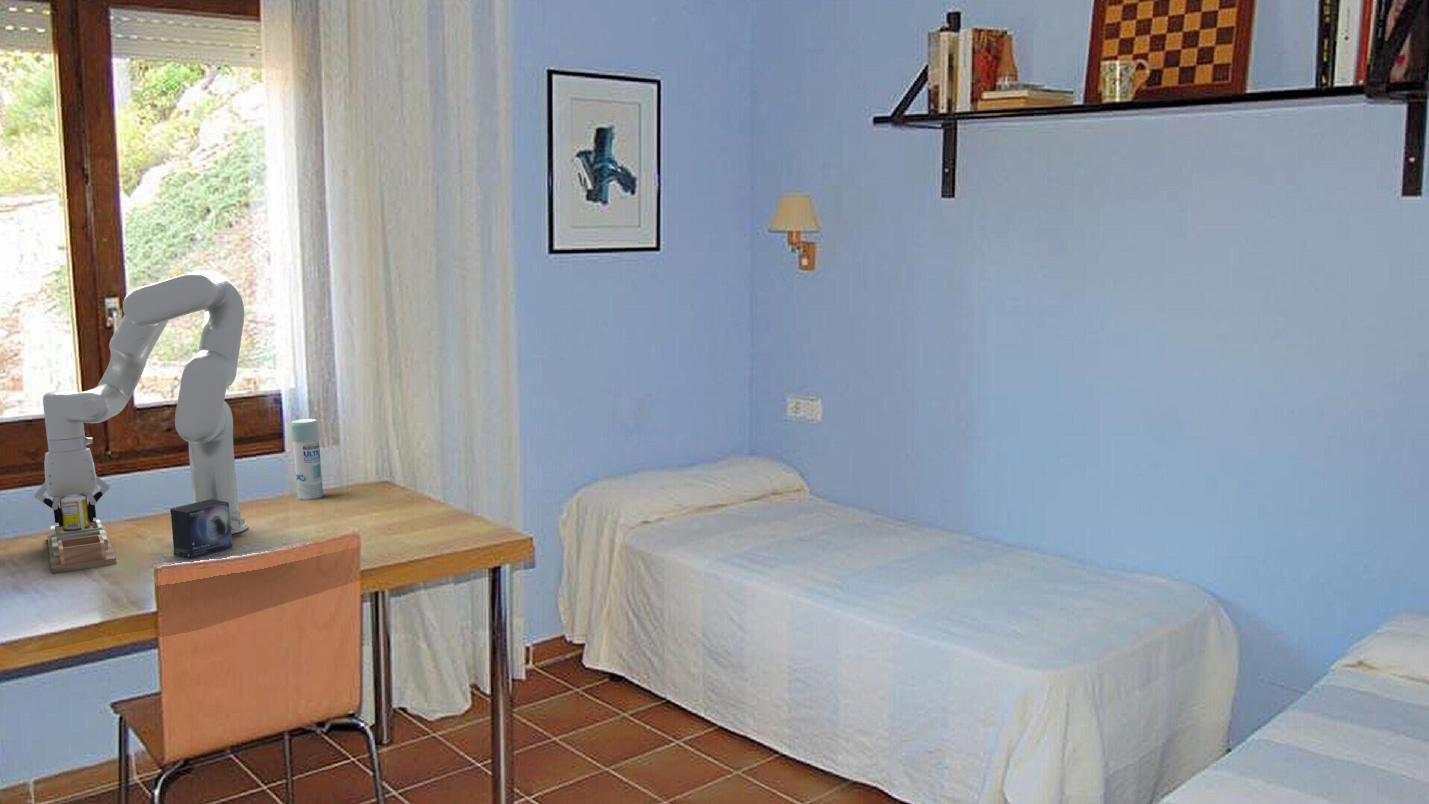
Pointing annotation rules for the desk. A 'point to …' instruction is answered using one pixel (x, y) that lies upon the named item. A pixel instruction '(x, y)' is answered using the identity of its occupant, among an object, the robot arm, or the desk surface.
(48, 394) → the robot arm
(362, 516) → the desk surface
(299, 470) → the spray paint can
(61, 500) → the supplement bottle
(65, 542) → the board
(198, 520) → the small box
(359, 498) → the desk surface
